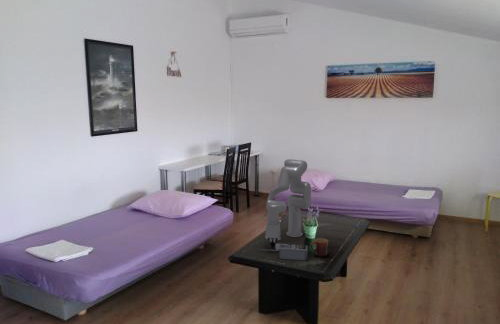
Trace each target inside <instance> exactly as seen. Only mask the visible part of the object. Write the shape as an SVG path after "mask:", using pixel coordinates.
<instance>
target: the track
mask: <svg viewBox="0 0 500 324" xmlns="http://www.w3.org/2000/svg"><path fill="white" fill-rule="evenodd" d="M258 251H259V252H260V251H261V252H273V253H274V252H275V253H279V251H276V249H272V248H271V249H270V248H269V249H268V248H259V249H258Z"/></svg>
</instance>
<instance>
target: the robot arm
mask: <svg viewBox="0 0 500 324" xmlns="http://www.w3.org/2000/svg"><path fill="white" fill-rule="evenodd" d="M283 163H284V166H282V167H281V169H280V173H279V176H278V181H277V184H276V186H275V187H274V188H273V189H271V191H270V192H269V194H268V196H267V200H266V204H265V205H266V207H265V208H266V210H267V222H266V225H265V236H264V237H265V238H264V239H266V240H268V241H269V242H270V246H271V249H274V248H275V247H276V242H277V241H280V240H281V239H282V238H281V235H282V234H281V222H282V221H281V219H279V217H280V215H279V214H282V213H285V212H286V210H287V209H288V226H287V227H288V228H287V229H288V230H287V231H286V232H285V233H286V236H287V237H291V238H300V237H302V236H303V235H304V234H303V232H302V211H301V209H307V210H308V209H309V208H310V207H311V203H312V186H311V184H310V182H308V181H302V176H303V175H304V174H305V173H306V171H307V169H308V163H307V161H305V160H302V159H292V158H291V159H289V158H288V159H286V160H284V162H283ZM288 190H289V191H290V192H291V193H292V194H290V195H289V196H288V197H287V203H286V202H285V201H282V200H281V201H279V200H274V198H275V197H276V196H277V195H278V194H280V193H283V192H286V191H288ZM287 207H288V208H287Z"/></svg>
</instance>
